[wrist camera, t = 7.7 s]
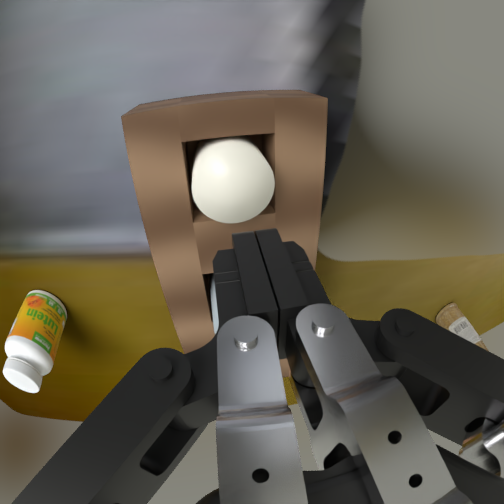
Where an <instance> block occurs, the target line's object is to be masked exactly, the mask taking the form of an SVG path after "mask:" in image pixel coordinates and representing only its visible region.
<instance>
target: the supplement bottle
mask: <svg viewBox="0 0 504 504" xmlns="http://www.w3.org/2000/svg"><path fill="white" fill-rule="evenodd" d="M66 319H67V312H66V309H65V307H64V305H63V304H62V302H61V301H60V300H59V299H58V298H57V297H55V296H54V295H52V294H50V293H48V292H46V291H42V290H33V291H31V292H29V293H28V294H27V296H26V298H25V300H24V302H23V304H22V306H21V308H20V310H19V312H18V315H17V317H16V319H15V321H14V324H13V326H12V328H11V331H10V333H9V335H8V338H7V340H6V343H5V351H6V354H7V356H8V359H7V360H6V362H5V366H4V369H3V374H4V376H5V378H6V379H7V380H8V381H9V382H10V383H12V384H13V385H14V386H16V387H18V388H20V389H22V390H24V391H27V392H31V393H37V392H38V391H39V390H40V386H41V383H42V376H43V375H46V374H48V373H49V372H50V371H51V369H52V366H53V363H54V359H55V356H56V352H57V349H58V345H59V342H60V339H61V335H62V332H63V329H64V326H65V323H66Z"/></svg>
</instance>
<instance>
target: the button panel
mask: <svg viewBox="0 0 504 504" xmlns="http://www.w3.org/2000/svg"><path fill="white" fill-rule="evenodd" d="M327 104H328V98H325V97H322V96H319V95H315V94H312V93H309V92H305V91H301V90H259V91H240V92H226V93H215V94H205V95H197V96H189V97H181V98H175V99H168V100H162V101H156V102H151V103H145V104H140V105H138V106H137V107H135V108H133V109H132V110H130V111H129V112H127V113H126V114H124V115H123V116H121V119H122V125H123V131H124V137H125V142H126V148H127V153H128V158H129V163H130V168H131V173H132V178H133V182H134V187H135V191H136V196H137V200H138V204H139V208H140V212H141V216H142V220H143V224H144V228H145V232H146V236H147V239H148V243H149V247H150V250H151V254H152V257H153V261H154V264H155V267H156V271H157V274H158V277H159V281H160V284H161V287H162V290H163V293H164V296H165V299H166V303H167V306H168V309H169V311H170V314H171V317H172V320H173V323H174V326H175V329H176V332H177V334H178V337H179V340H180V343H181V345H182V348H183V351H184V353H185V354H186V353H189V352H191V351H194V350H196V349H199V348H201V347H203V346H204V345H206V344H207V343H208V342H210V341H211V340H212V338H213V337H214V336H215V333H214V325H213V315H212V303H211V292H210V273H214V272H213V262H212V261H213V259H214V257H215V255H216V253H217V251H218V250H226V249H233V246H232V233H240V232H248V231H256V230H264V229H272V228H276V229H277V230H278V232H279V235H280V237H281V239H282V242H288V241H294V242H295V243H297V244H298V245H299V246H301V247H302V248H303V249H304V250H305V252H306V254H307V256H308V258H309V262H311V264H312V266H313V268H314V271H315V265H316V257H317V248H318V238H319V229H320V219H321V208H322V196H323V183H324V169H325V153H326V133H327ZM240 135H248V136H249V137H250V138H251V139H252V140H253V142H254V143H255V144H256V146H257V147H258V149H259V150H260V152H261V153H262V155H263V156H264V158H265V159H266V161H267V162H268V164H269V165H270V167H271V169H272V171H273V174H274V180H275V187H274V193H273V196H272V198H271V200H270V202H269V204H268V205H267V206H266V208H265V209H264V210H263V211H262V212H261V213H260V214H258V215H257V216H255V217H253V218H252V219H249V220H247V221H244V222H240V223H222V222H218V221H215V220H213V219H211V218H209V217H207V216H206V215H205V214H204V213H203V212H202V211H201V210H200V209H199V208H198V207H197V205H196V203H195V201H194V198H193V195H192V172H193V157H194V151H195V148H196V146H197V144H198V143H199V141H200V140H201V139H210V138H219V137H229V136H240ZM279 361H280V367H281V373H282V378H283V377H288V376H289V373H290V367H289V364H288V360H287V358H286V359H280V360H279Z"/></svg>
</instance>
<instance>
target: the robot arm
mask: <svg viewBox="0 0 504 504" xmlns="http://www.w3.org/2000/svg"><path fill="white" fill-rule="evenodd" d="M232 246H233V249H226V250H218V251H217V253H216V255H215V257H214V259H213V261H212V262H213V272H214V282H215V292H216V301H217V310H218V319H219V326H218V330H217V333H216V334H215V336H214V337H213V338H212V340H211V341H210V342H208V343H207V344H206V345H204V346H203V347H201V348H199V349H196V350H194V351H191V352H189V353H186V354H182V353H181V352H180V351H177V350H175V349H171V348H159V349H155V350H152V351H150V352H148V353H147V354H145V355H144V356H143V357H142V358H141V359H140V360H139V361H138V362H137V363H136V364H135V365H134V366H133V367H132V369H131V370H130V371H129V372H128V373H127V374H126V375H125V376H124V377H123V378H122V380H121V381H120V382H119V383H118V384H117V385H116V386H115V387H114V388H113V389H112V391H111V392H110V393H109V394H108V395H107V396H106V397H105V398H104V399H103V401H102V402H101V403H100V404H99V405H98V406H97V407H96V408H95V409H94V411H93V412H92V413H91V414H90V415H89V416H88V417H87V418H86V420H85V421H84V422H83V423H82V424H81V425H80V426H79V427H78V428H77V430H76V431H75V432H74V433H73V434H72V435H71V436H70V438H69V439H68V440H67V441H66V442H65V443H64V444H63V445H62V446H61V448H60V449H59V450H58V451H57V452H56V453H55V454H54V456H53V457H52V458H51V459H50V460H49V461H48V462H47V463H46V465H45V466H44V467H43V468H42V469H41V470H40V471H39V473H38V474H37V475H36V476H35V477H34V478H33V479H32V481H31V482H30V483H29V484H28V485H27V486H26V488H25V489H24V490H23V491H22V492H21V493H20V494H19V496H18V497H17V498H16V499H15V500H14V501H13V503H12V504H147V503H148V502H149V500H150V499H151V498H152V497H153V495H154V494H155V493H156V492H157V490H158V489H159V488H160V487H161V486H162V484H163V483H164V481H166V479H167V478H168V477H169V475H170V474H171V473H172V471H173V470H174V469H175V468H176V466H177V465H178V464H179V463H180V461H181V460H182V459H183V457H184V456H185V455H186V453H187V452H188V451H189V449H190V448H191V447H192V445H193V444H194V443H195V441H196V440H197V439H198V437H199V436H200V435H201V433H202V432H203V430H204V429H205V428H206V426H207V425H208V423H210V422H212V421H214V420H216V442H217V463H218V480H219V488H218V489H216V490H214V491H212V492H211V493H209V494H207V495H206V496H205V497H203V498H202V499H201V500H199V501H198V502H197V503H196V504H504V359H502V358H500V357H498V356H496V355H494V354H492V353H491V352H489V351H487V350H485V349H483V348H481V347H479V346H478V345H476V344H474V343H472V342H470V341H468V340H466V339H464V338H462V337H460V336H459V335H457V334H455V333H453V332H451V331H449V330H447V329H445V328H443V327H441V326H439V325H437V324H435V323H434V322H432V321H430V320H428V319H426V318H424V317H422V316H420V315H418V314H416V313H414V312H412V311H410V310H407V309H398V308H397V309H392V310H390V311H388V312H386V313H385V314H384V315H383V316H382V318H381V321H365V320H355V319H350V318H348V317H347V316H346V314H345V313H344V312H343V311H342V310H340V309H339V308H337V307H335V306H333V305H331V303H330V301H329V299H328V297H327V295H326V293H325V291H324V289H323V287H322V285H321V282H320V280H319V278H318V276H317V274H316V272H315V271H314V268H313V266H312V264H311V262H309V258H308V256H307V254H306V252H305V250H304V249H303V248H302V247H301V246H299V245H298V244H297V243H295V242H294V241H288V242H282V239H281V237H280V235H279V232H278V230H277V229H276V228H272V229H264V230H256V231H248V232H240V233H232ZM286 358H287V360H288V364H289V367H290V373H289V380H290V383H291V386H292V389H293V391H294V394H295V397H296V399H297V402H298V404H299V407H300V410H301V412H302V415H303V417H304V420H305V423H306V425H307V428H308V431H309V435H310V444H311V449H312V453H313V456H314V458H315V461H316V464H317V466H318V469H319V471H302V465H301V459H300V453H299V447H298V442H297V436H296V431H295V425H294V420H293V416H292V412H291V410H290V408H289V407H288V405H287V401H286V396H285V390H284V384H283V379H282V373H281V367H280V361H279V360H280V359H286ZM427 429H429V430H431V431H433V432H435V433H437V434H439V435H441V436H443V437H445V438H447V439H449V440H451V441H453V442H455V443H457V444H459V445H461V446H462V448H461V449H460V451H459V456H457V455H455V454H453V453H451V452H450V451H448V450H446V449H444V448H442V447H440V446H438V445H436V444H435V443H434V441H433V439H432V437H431V435H430V433H429V431H428V430H427Z"/></svg>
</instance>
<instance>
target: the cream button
mask: <svg viewBox="0 0 504 504" xmlns="http://www.w3.org/2000/svg"><path fill="white" fill-rule="evenodd" d="M274 187H275V180H274V174H273V171H272V169H271V167H270V165H269V164H268V162H267V161H266V159H265V158H264V156H263V155H262V153H261V152H260V150H259V149H258V147H257V146H256V144H255V143H254V142H253V140H252V139H251V138H250V137H249V136H248V135H240V136H229V137H219V138H210V139H201V140H200V141H199V143H198V144H197V146H196V148H195V151H194V157H193V172H192V195H193V198H194V201H195V203H196V205H197V207H198V208H199V209H200V210H201V211H202V212H203V213H204V214H205V215H206V216H207V217H209V218H211V219H213V220H215V221H218V222H222V223H240V222H244V221H247V220H249V219H252V218H253V217H255V216H257V215H258V214H260V213H261V212H262V211H263V210H264V209H265V208H266V206H267V205H268V204H269V202H270V200H271V198H272V196H273V193H274Z"/></svg>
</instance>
